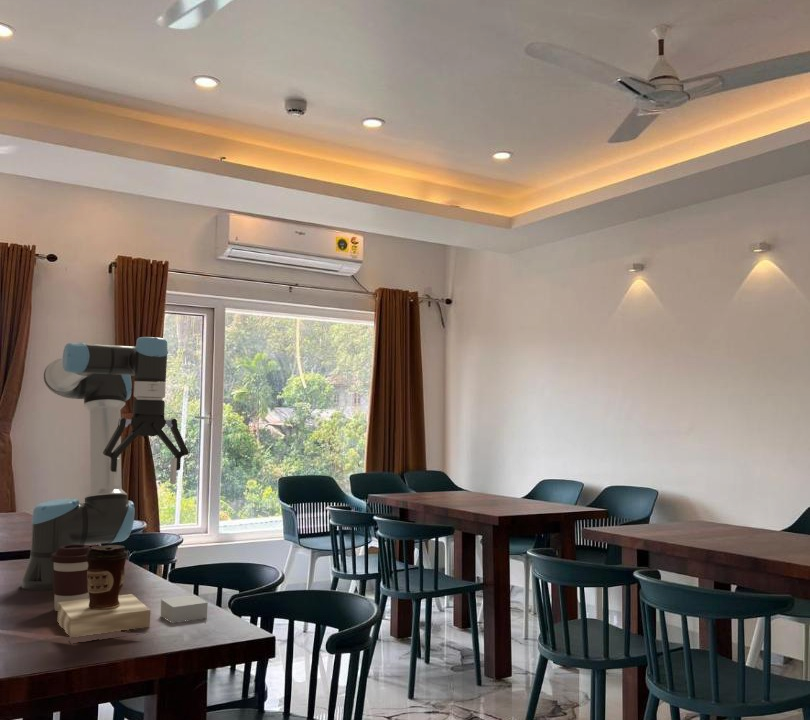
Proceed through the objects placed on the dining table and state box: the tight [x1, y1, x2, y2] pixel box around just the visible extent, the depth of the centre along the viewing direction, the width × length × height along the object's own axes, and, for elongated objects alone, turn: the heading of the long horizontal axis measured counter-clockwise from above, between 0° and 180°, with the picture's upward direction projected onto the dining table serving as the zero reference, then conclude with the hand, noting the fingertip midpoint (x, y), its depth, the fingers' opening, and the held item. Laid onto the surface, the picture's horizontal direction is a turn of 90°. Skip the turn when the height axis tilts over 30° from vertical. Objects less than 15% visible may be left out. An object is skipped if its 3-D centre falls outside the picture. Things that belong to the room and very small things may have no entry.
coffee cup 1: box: [51, 544, 91, 612], centre depth 184 cm, size 10×10×15 cm
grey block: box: [160, 594, 208, 623], centre depth 175 cm, size 8×8×5 cm
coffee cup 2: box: [86, 544, 129, 609], centre depth 168 cm, size 9×8×13 cm
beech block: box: [56, 593, 151, 638], centre depth 168 cm, size 16×16×5 cm
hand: (145, 484), depth 190 cm, fingers open, 13 cm apart
